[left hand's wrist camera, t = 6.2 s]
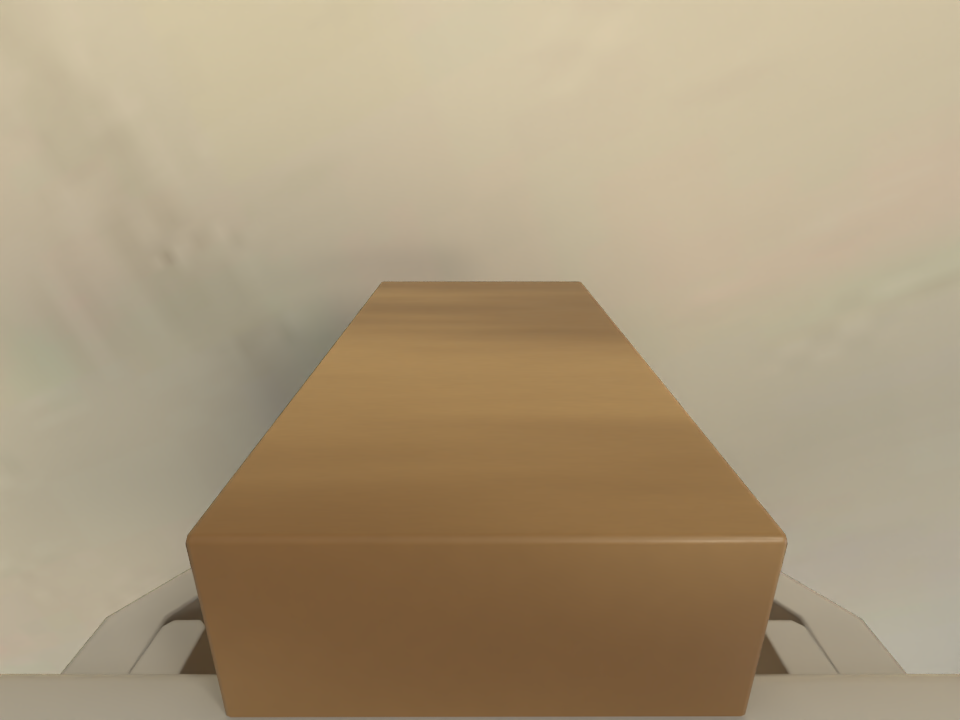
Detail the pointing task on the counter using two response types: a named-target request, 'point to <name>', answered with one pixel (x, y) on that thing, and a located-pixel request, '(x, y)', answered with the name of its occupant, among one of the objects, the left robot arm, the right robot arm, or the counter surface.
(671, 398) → the bar
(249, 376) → the counter surface
